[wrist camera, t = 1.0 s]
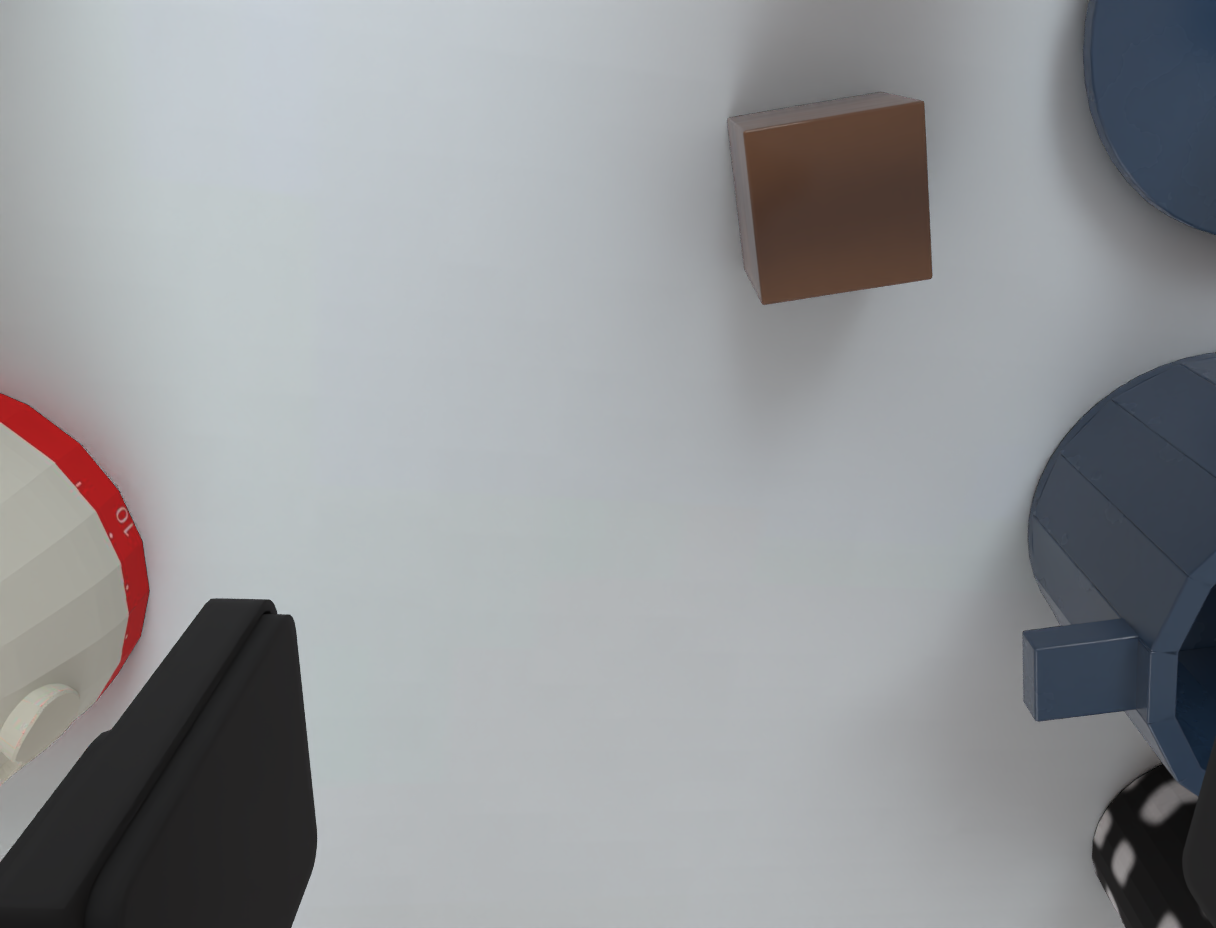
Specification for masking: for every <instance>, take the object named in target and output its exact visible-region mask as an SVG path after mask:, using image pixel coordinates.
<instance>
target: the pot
mask: <svg viewBox="0 0 1216 928" xmlns="http://www.w3.org/2000/svg"><path fill="white" fill-rule="evenodd" d="M1028 546H1029V557H1030V561H1031V565H1032V569H1033V573H1034V577H1035V579H1036V581H1037V584H1038V586H1039V588H1040V591H1041V593H1042V594H1043V596H1044V598H1045V599H1046V601H1047V602H1048V604H1049V605H1050V607H1051V609H1052V611H1053V613H1054V615H1055V616H1056V618H1057V620H1058V622H1059V624H1060V625H1061V626H1057V627H1049V628H1041V629H1034V630H1026V631H1023V693H1024V703H1025V704H1026V706H1027V708H1028V709H1029V711H1030V713H1031V714H1032V716H1033V718H1034V719H1035V721H1046V720H1054V719H1063V718H1071V717H1079V716H1087V715H1095V714H1103V713H1111V712H1119V711H1124V712H1125V713H1126V714H1127V716H1128V717H1129V718H1130V720H1131V721H1132V722H1133V724H1134V725H1135V726H1136V728H1137V729H1138V730H1139V732H1140V733H1141V734H1142V736H1143V737H1144V739H1145V740H1146V741H1147V743H1148V744H1149V745H1150V747H1151V748H1152V749H1153V751H1154V752H1155V753H1156V755H1157V756H1158V757H1159V759H1160V760H1161V761H1162V763H1163V764H1164V766H1165V767H1166V768H1167V770H1168V771H1169V772H1170V774H1171V775H1172V776H1173V778H1174V779H1175V780H1176V781H1177V782H1178V783H1179V784H1180V785H1182V786H1183V787H1184V788H1186V789H1187V790H1189V791H1190V792H1192V793H1193V794H1195V795H1196V796H1197V797H1199V793H1200V790H1201V786H1202V782H1203V779H1204V775H1205V772H1206V768H1207V765H1208V761H1209V758H1210V754H1211V750H1212V747H1213V743H1214V740H1215V736H1216V353H1208V354H1203V355H1198V356H1194V357H1189V358H1184V359H1181V360H1178V361H1175V362H1172V363H1169V364H1166V365H1163V366H1160V367H1158V368H1156V369H1153V370H1151V371H1149V372H1147V373H1145V374H1142V375H1140V376H1138V377H1136V378H1135V379H1133V380H1131V381H1129V382H1128V383H1126V384H1124V385H1123V386H1121V387H1119V388H1118V389H1116V390H1115V391H1113V392H1112V393H1111V394H1109V395H1108V396H1107V397H1105V398H1104V399H1103V400H1101V401H1100V402H1099V403H1097V404H1096V405H1095V406H1094V407H1093V408H1092V409H1091V410H1090V411H1089V412H1088V413H1086V414H1085V415H1084V416H1083V417H1082V418H1081V419H1080V420H1079V421H1078V422H1077V423H1076V425H1075V426H1074V427H1073V428H1072V429H1071V430H1070V432H1069V433H1068V434H1067V435H1066V436H1065V437H1064V439H1063V440H1062V441H1061V443H1060V444H1059V446H1058V447H1057V449H1056V450H1055V452H1054V453H1053V455H1052V456H1051V458H1050V460H1049V462H1048V464H1047V466H1046V468H1045V470H1044V472H1043V474H1042V476H1041V478H1040V480H1039V483H1038V486H1037V489H1036V492H1035V495H1034V497H1033V502H1032V507H1031V511H1030V516H1029V527H1028Z"/></svg>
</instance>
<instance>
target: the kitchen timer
mask: <svg viewBox="0 0 1216 928" xmlns="http://www.w3.org/2000/svg"><path fill="white" fill-rule="evenodd" d="M148 596H149V585H148V578H147V571H146V564H145V557H144V550H143V543H142V540H141V538H140V535H139V533H138V531H137V529H136V527H135V525H134V523H133V520H132V518H131V516H130V514H129V512H128V510H127V508H126V505H125V503H124V501H123V499H122V497H121V495H120V492H119V490H118V489H117V488H116V487H115V486H114V484H113V483H112V482H111V481H110V480H109V478H108V477H107V476H106V475H105V474H104V472H103V471H102V470H101V469H100V468H99V466H98V465H97V464H96V463H95V462H94V460H93V459H92V458H91V457H90V455H89V454H88V453H87V452H86V451H85V449H84V448H83V447H82V446H81V445H80V444H79V443H78V442H77V441H75V440H74V439H73V438H71V437H70V436H69V435H67V434H66V433H65V432H63V431H62V430H61V429H59V428H58V427H57V426H55V425H54V424H53V423H51V422H50V421H49V420H47V419H46V418H45V417H43V416H42V415H41V414H39V413H38V412H37V411H35V410H34V409H33V408H31V407H30V406H29V405H26V404H24V403H22V402H19V401H17V400H15V399H13V398H10V397H8V396H6V395H4V394H1V393H0V785H1V784H3V783H4V782H5V781H6V780H8V779H9V778H10V777H11V776H12V775H14V774H15V773H16V772H17V771H19V770H20V769H21V768H22V767H24V766H25V765H26V764H28V763H29V762H30V761H31V760H33V759H34V758H35V757H36V756H38V755H39V754H40V753H41V752H43V751H44V750H45V749H46V748H48V747H49V746H50V745H51V744H52V743H53V742H55V741H56V740H57V739H58V738H59V737H60V736H61V735H62V734H63V733H64V731H65V730H66V729H67V728H68V727H69V726H70V724H71V723H72V722H73V721H74V720H75V719H76V718H78V717H79V716H80V715H81V714H83V713H84V712H85V711H86V710H87V709H88V708H89V707H90V706H92V705H93V704H94V703H95V702H96V701H97V699H98V698H99V697H100V696H101V694H102V693H103V692H104V691H105V689H106V688H107V687H108V686H109V684H110V683H111V682H112V681H113V679H114V678H115V677H116V676H117V674H118V673H119V671H120V669H121V668H122V666H123V664H124V663H125V661H126V660H127V658H128V656H129V655H130V653H131V651H132V650H133V648H134V647H135V645H136V643H137V642H138V640H139V638H140V637H141V632H142V627H143V622H144V616H145V611H146V606H147V601H148Z"/></svg>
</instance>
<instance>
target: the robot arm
mask: <svg viewBox="0 0 1216 928" xmlns="http://www.w3.org/2000/svg"><path fill="white" fill-rule="evenodd" d="M316 849H317V827H316V818H315V808H314V798H313V789H312V779H311V770H310V760H309V750H308V741H307V731H306V722H305V712H304V702H303V693H302V683H301V674H300V664H299V654H298V645H297V635H296V628H295V622H294V620H293V617H292V616H291V615H282V614H277V610H276V608H275V605H274V603H273V602H272V601H271V600H263V599H218V598H216V599H210V600H209V601H208V602H207V603H206V604H205V605H204V607H203V608H202V609H201V611H200V612H199V613H198V615H197V616H196V617H195V619H194V620H193V621H192V623H191V624H190V625H189V627H188V628H187V629H186V631H185V632H184V633H183V635H182V636H181V637H180V639H179V640H178V641H177V643H176V644H175V645H174V647H173V648H172V649H171V651H170V652H169V654H168V655H167V656H166V658H165V659H164V660H163V662H162V663H161V664H160V666H159V667H158V668H157V670H156V671H155V672H154V674H153V675H152V676H151V678H150V679H149V680H148V682H147V683H146V684H145V686H144V687H143V688H142V690H141V691H140V692H139V694H138V695H137V696H136V698H135V699H134V700H133V702H132V703H131V704H130V706H129V707H128V708H127V710H126V711H125V712H124V714H123V715H122V716H121V718H120V719H119V720H118V722H117V723H116V724H115V726H114V727H113V728H112V730H109V731H106V732H103V733H101V734H100V735H99V736H98V737H97V738H96V739H95V740H94V741H93V742H92V743H91V744H90V745H89V747H88V748H87V749H86V751H85V752H84V753H83V755H82V756H81V757H80V759H79V760H78V761H77V762H76V764H75V765H74V766H73V768H72V769H71V770H70V772H69V773H68V774H67V776H66V777H65V778H64V780H63V781H62V782H61V783H60V785H59V786H58V787H57V789H56V790H55V791H54V793H53V794H52V795H51V797H50V798H49V799H48V801H47V802H46V803H45V804H44V806H43V807H42V808H41V810H40V811H39V812H38V814H37V815H36V816H35V818H34V819H33V820H32V821H31V823H30V824H29V825H28V827H27V828H26V829H25V831H24V832H23V833H22V835H21V836H20V837H19V839H18V840H17V841H16V842H15V844H14V845H13V846H12V848H11V849H10V850H9V852H8V853H7V854H6V856H5V857H4V858H3V859H2V861H1V862H0V928H291V927H292V924H293V921H294V919H295V916H296V913H297V911H298V908H299V905H300V903H301V900H302V897H303V895H304V892H305V889H306V887H307V884H308V881H309V879H310V876H311V873H312V870H313V867H314V862H315V857H316ZM1182 866H1183V873H1184V878H1185V881H1186V884H1187V887H1188V889H1189V890H1190V892H1191V894H1192V896H1193V897H1194V899H1195V900H1196V902H1197V903H1198V905H1199V906H1200V908H1201V909H1202V911H1203V912H1204V913H1205V915H1206V916H1207V918H1208V919H1209V921H1210V922H1211V924H1212V925H1213V927H1214V928H1216V736H1215V740H1214V743H1213V747H1212V750H1211V754H1210V758H1209V761H1208V765H1207V768H1206V772H1205V775H1204V779H1203V782H1202V786H1201V790H1200V793H1199V797H1198V800H1197V804H1196V807H1195V811H1194V815H1193V818H1192V822H1191V825H1190V829H1189V832H1188V836H1187V840H1186V843H1185V847H1184V850H1183V857H1182Z"/></svg>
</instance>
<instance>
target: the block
mask: <svg viewBox="0 0 1216 928" xmlns="http://www.w3.org/2000/svg"><path fill="white" fill-rule="evenodd" d="M727 125H728V134H729V142H730V151H731V160H732V169H733V177H734V186H735V195H736V203H737V212H738V221H739V230H740V238H741V247H742V256H743V264H744V270H745V272H746V274H747V276H748V278H749V280H750V281H751V283H752V285H753V287H754V289H755V291H756V293H757V295H758V297H759V299H760V301H761V303H762V304H763V305H767V304H774V303H780V302H786V301H793V300H799V299H806V298H812V297H819V296H825V295H831V294H838V293H844V292H851V291H857V290H864V289H870V288H877V287H883V286H889V285H896V284H902V283H909V282H915V281H922V280H928V279H931V278H932V255H931V234H930V212H929V191H928V170H927V148H926V127H925V106H924V101H921V100H917V99H912V98H907V97H903V96H898V95H894V94H889V93H884V92H877V93H871V94H865V95H859V96H853V97H847V98H841V99H835V100H830V101H824V102H818V103H812V104H806V105H800V106H794V107H788V108H782V109H776V110H770V111H765V112H759V113H753V114H747V115H741V116H735V117H729V118H728V119H727Z"/></svg>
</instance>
